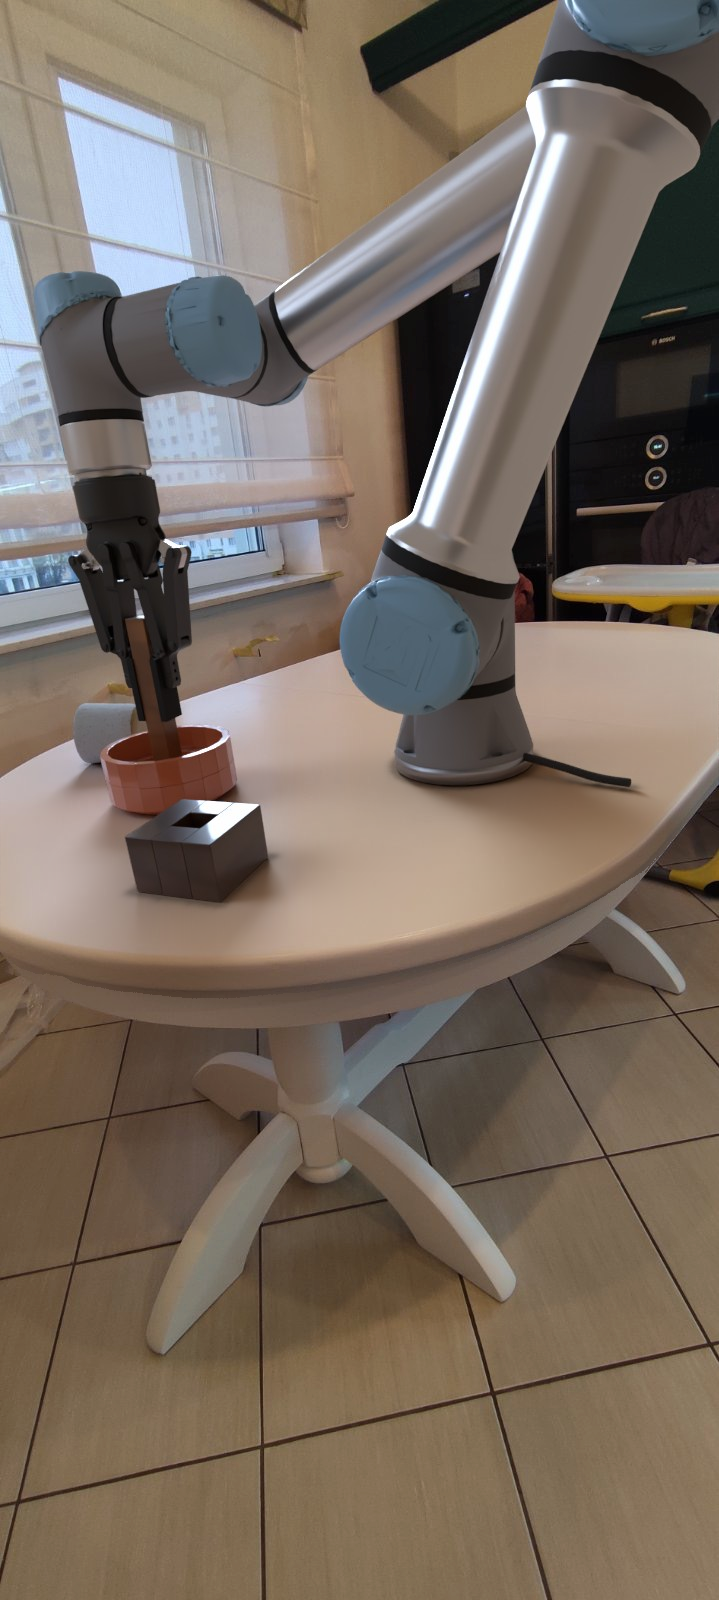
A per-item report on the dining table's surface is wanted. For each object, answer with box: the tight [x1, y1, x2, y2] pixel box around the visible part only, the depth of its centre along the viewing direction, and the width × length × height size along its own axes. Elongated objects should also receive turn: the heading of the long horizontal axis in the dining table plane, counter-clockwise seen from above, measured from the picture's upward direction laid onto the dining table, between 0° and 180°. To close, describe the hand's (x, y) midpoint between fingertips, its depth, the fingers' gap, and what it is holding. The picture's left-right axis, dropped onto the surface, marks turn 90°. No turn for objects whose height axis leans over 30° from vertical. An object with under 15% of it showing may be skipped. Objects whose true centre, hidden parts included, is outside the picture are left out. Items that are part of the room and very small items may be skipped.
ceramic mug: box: [72, 702, 148, 764], centre depth 94 cm, size 11×8×8 cm
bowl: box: [100, 724, 238, 815], centre depth 79 cm, size 14×14×6 cm
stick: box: [125, 614, 182, 761], centre depth 76 cm, size 2×2×18 cm
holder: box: [124, 799, 269, 903], centre depth 60 cm, size 8×8×5 cm
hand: (160, 717), depth 77 cm, fingers closed on stick, 2 cm apart
